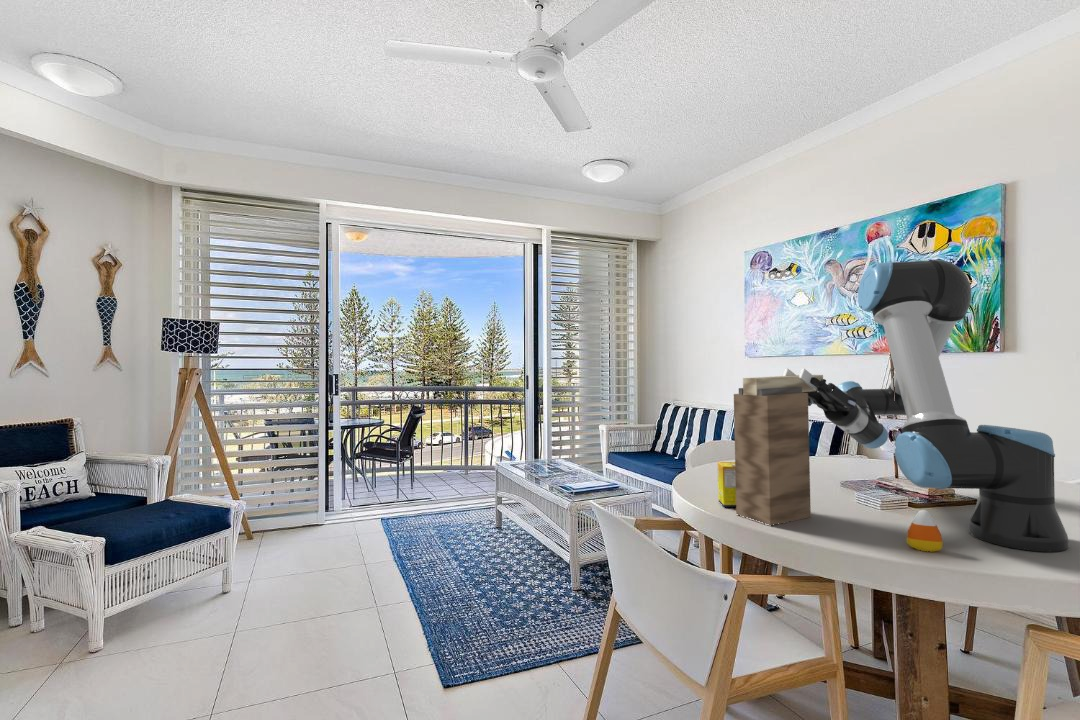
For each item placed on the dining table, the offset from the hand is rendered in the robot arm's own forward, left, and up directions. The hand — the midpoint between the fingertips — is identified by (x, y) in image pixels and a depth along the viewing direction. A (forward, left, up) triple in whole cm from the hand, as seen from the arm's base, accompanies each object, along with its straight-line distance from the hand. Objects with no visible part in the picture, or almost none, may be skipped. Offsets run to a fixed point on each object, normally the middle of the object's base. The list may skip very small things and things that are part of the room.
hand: (793, 373), depth 132 cm
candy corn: (-30, +1, -35) cm, 46 cm away
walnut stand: (0, +8, -35) cm, 36 cm away
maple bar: (0, +3, -5) cm, 6 cm away
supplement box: (+12, +9, -35) cm, 38 cm away
